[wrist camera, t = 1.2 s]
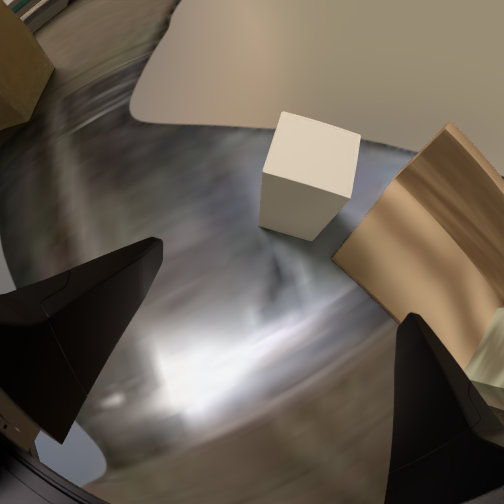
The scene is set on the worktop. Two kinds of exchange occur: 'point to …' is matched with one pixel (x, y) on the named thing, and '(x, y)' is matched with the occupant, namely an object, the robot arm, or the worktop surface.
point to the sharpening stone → (36, 11)
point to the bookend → (306, 176)
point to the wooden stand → (441, 254)
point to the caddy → (19, 69)
